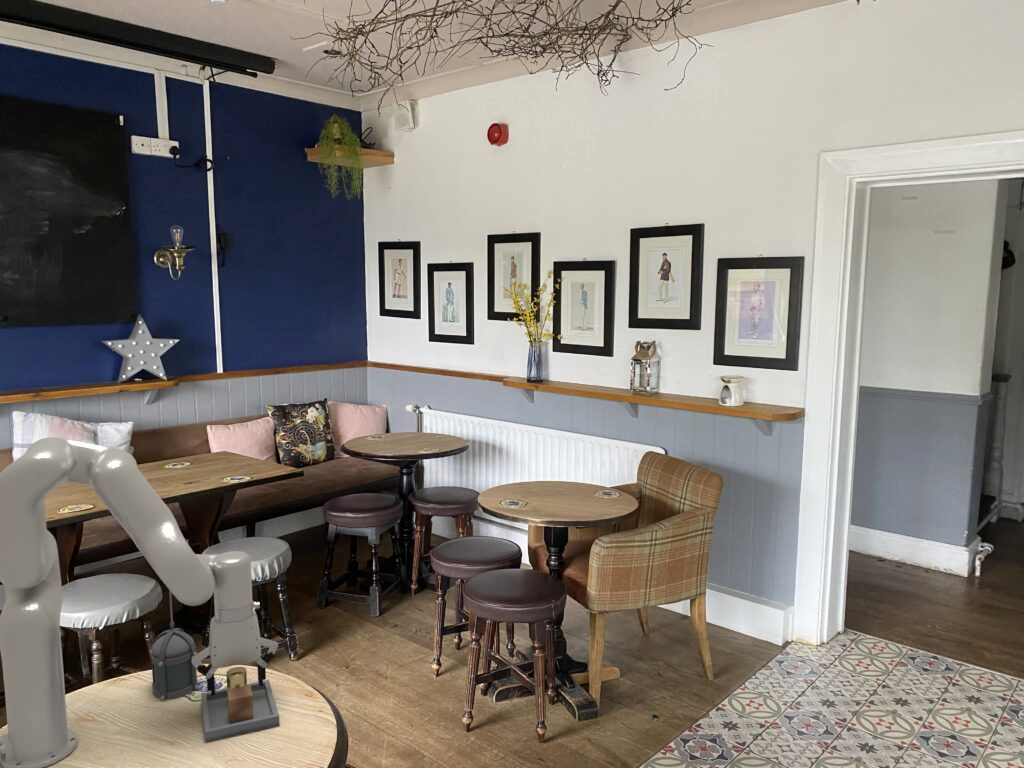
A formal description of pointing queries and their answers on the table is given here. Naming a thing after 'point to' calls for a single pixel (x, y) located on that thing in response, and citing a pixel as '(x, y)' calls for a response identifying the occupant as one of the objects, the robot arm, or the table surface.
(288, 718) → the table surface
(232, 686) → the brass cylinder
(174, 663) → the lantern
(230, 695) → the walnut block
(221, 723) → the tray
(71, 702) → the table surface
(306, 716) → the table surface
